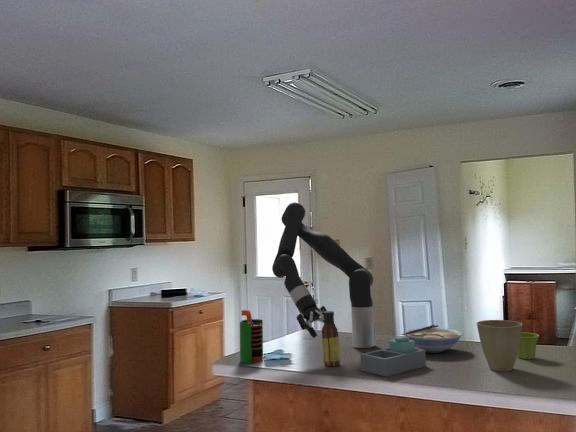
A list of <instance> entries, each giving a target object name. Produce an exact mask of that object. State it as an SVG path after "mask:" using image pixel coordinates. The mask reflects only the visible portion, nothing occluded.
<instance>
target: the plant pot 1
mask: <svg viewBox="0 0 576 432" xmlns="http://www.w3.org/2000/svg"><path fill="white" fill-rule="evenodd" d="M476 327H477V333H478V338H479V341H480V342H479V343H480V344H481V349H482V352H483V354H484V358H485V360H486V363H487V364H488V368H489V369H490V370H492V371H495V372H502V373H503V372H505V373H507V372H510V371H513V369H514V366H515V364H516V361H517V358H518V357H517V354H518V350H519V345H520V339H521V332H522V331H523V323H522V322H520V321H515V320H506V319H486V320H485V319H484V320H479V321H476Z"/></svg>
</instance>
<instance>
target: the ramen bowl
mask: <svg viewBox="0 0 576 432" xmlns="http://www.w3.org/2000/svg"><path fill="white" fill-rule="evenodd" d="M462 335H463V334H462V332H461V331H459V330H455V329H449V328H442V327H441V328H440V327H439V325H435V324H431V325H428V326H424V327H421V328H415V329H413V328H412V329H408V330H406V331H404V333H402V334H400V336H406V337H409V340H413V341H415V348H417V349H423V350H425V353H433V354H434V353H435V354H436V353H442V352H444V351H446V350H449V349H451V348H453V347H454V346H456V345H457V344H458V342H459V341H460V339H461V337H462Z"/></svg>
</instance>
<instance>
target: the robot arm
mask: <svg viewBox="0 0 576 432" xmlns="http://www.w3.org/2000/svg"><path fill="white" fill-rule="evenodd" d="M305 216H306V210H305V207H304V206H303V205H302V204H301V203H299V202H295V201H294V202H291V203H289V204H288V205H287V206H286V208H285V209H284V211H283V213H282V215H281V223H282V224H283V226H284V230H283V232H282V234H281V237H280V241H279V245H278V247H277V248H278V249H277V253H276V255H275V258H274V261H273V264H272V268H271V270H272V273H273V275H274V276H275V277H276V278H281V279H283V278H285V279H284V282H283V284H284V286H285V289H286V290H287V293H288V294H289V296H290V298H291V300H292V302H293V303H294V306H296V308H297V310H298V313H299V314H298V315H297V316H296V317H295V318H296V320H297V322H298V324H299V326H300V328H301V330H303V331H305V330H306V331H308V333H309V334H310V336H311V337H312V338H313V339H315V338H316V337H317V336H318V334H317V332H316V330H315V329H314V327H313V326H312V323H314V322H317V321H318V322H321V323H323V324H324V316H323V312H324V311H328V310H327V308H326V307H325V306H324V305H321V307H318V306H317V303H316V301H315V299H314V298H313V295H312V294H311V292H310V290H309V289H308V288H307V286H305V283H304V282H303V279H301V277H300V273H299V270H298V268H297V264H296V261H295V260H294V258H293V257H294V254H295V251H296V246H297V239H298V237H299V238H300V239H301V240H303V241H304V242H305V244H307V245H308V246H309V247H310V248H312V250H313V251H314V252H316V254H317V255H319V256H320V258H322V259H324V261H326V262H327V263H328V264H331V265H332V266H334V267H335V268H337V269H338V270H340V271H341V272H342V273H343V274H345V275H346V276H347V277H348V290H349V291H348V292H349V300H350V307H351V330H352V331H351V333H352V347H354V348H355V349H369V348H373V347H375V346H376V345H377V344H376V343H377V341H376V339H377V338H376V324H375V322H374V309H373V307H374V305H373V304H374V303H373V299H372V293H371V292H372V291H371V286H372V285H373V283H374V277H373V273H371V271H370V270H368V269H367V268H365V267H364V266H363V265H361V264H360V263H359V262H357V261H356V260H355V259H354V258H353V257H351V256H350V254H348V252H346V250H345V249H344V248H342V246H340V245H339V243H337V242H336V241H335V240H334V239H333V238H332V237H330V236H329V235H328V234H326V233H323V232H320V231H315V230H313V229H310V228H309V227H307V226H306V225H305V224H304V223H303V220H304V218H305Z"/></svg>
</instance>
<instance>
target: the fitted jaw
mask: <svg viewBox="0 0 576 432" xmlns="http://www.w3.org/2000/svg"><path fill="white" fill-rule="evenodd" d="M388 343H389V345H388V346H389V347H388V348H390V351H393V352H398V353H403V354H406V353H411V352H415V348H416V347H415V341H413V340H409V337H406V336H405V335H399V336H398V335H397V336H394V339H391V340H389V341H388Z"/></svg>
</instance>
